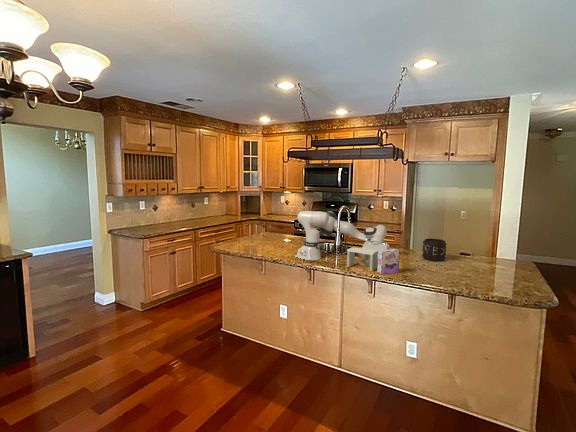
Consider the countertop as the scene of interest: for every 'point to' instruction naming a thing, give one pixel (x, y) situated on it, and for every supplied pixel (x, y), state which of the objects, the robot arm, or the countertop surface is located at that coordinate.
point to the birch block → (364, 259)
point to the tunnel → (372, 253)
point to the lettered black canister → (434, 250)
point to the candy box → (388, 261)
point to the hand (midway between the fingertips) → (372, 256)
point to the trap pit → (357, 269)
